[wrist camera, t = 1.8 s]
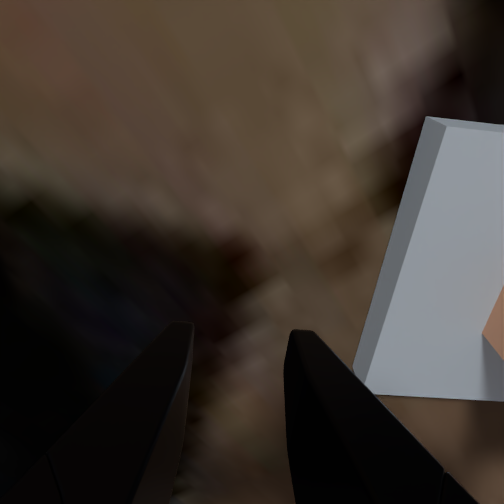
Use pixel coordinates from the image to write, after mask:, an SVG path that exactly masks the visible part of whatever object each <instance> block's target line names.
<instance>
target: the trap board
mask: <svg viewBox="0 0 504 504" xmlns="http://www.w3.org/2000/svg"><path fill="white" fill-rule="evenodd" d="M503 286H504V125H497V124H489V123H480V122H471V121H462V120H454V119H445V118H436V117H427V116H426V118H425V122H424V125H423V128H422V132H421V135H420V139H419V142H418V145H417V149H416V152H415V156H414V159H413V162H412V166H411V169H410V173H409V176H408V179H407V183H406V186H405V190H404V193H403V196H402V200H401V203H400V207H399V210H398V213H397V217H396V220H395V224H394V227H393V230H392V234H391V237H390V241H389V244H388V247H387V251H386V254H385V258H384V261H383V264H382V268H381V271H380V275H379V278H378V281H377V285H376V288H375V292H374V295H373V298H372V302H371V305H370V309H369V312H368V315H367V319H366V322H365V326H364V329H363V332H362V336H361V339H360V343H359V346H358V350H357V353H356V356H355V360H354V363H353V370H354V373H355V375H356V376H357V377H358V378H359V379H360V380H361V381H362V382H363V383H364V384H365V385H366V386H367V387H368V388H369V389H370V390H371V392H372V393H373V394H380V395H397V396H415V397H433V398H450V399H468V400H485V401H503V402H504V360H503V359H502V358H501V357H500V355H499V354H498V353H497V352H496V350H495V349H494V348H493V347H492V345H491V344H490V343H489V342H488V340H487V339H486V338H485V337H484V335H483V334H482V331H483V329H484V327H485V325H486V323H487V320H488V318H489V316H490V314H491V312H492V310H493V307H494V305H495V303H496V301H497V299H498V296H499V294H500V292H501V290H502V288H503Z"/></svg>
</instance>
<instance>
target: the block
mask: <svg viewBox="0 0 504 504" xmlns="http://www.w3.org/2000/svg"><path fill="white" fill-rule="evenodd" d="M482 334H483V335H484V337H485V338H486V339H487V340H488V342H489V343H490V344H491V345H492V347H493V348H494V349H495V350H496V352H497V353H498V354H499V355H500V357H501V358H502V359H503V360H504V286H503V288H502V290H501V292H500V294H499V296H498V299H497V301H496V303H495V305H494V307H493V310H492V312H491V314H490V316H489V318H488V320H487V323H486V325H485V327H484V329H483V331H482Z"/></svg>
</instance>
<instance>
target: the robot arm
mask: <svg viewBox="0 0 504 504" xmlns="http://www.w3.org/2000/svg"><path fill="white" fill-rule="evenodd" d="M193 339H194V324H193V323H192V322H183V321H172V322H170V323H169V324H168V325H167V326H166V328H165V329H164V330H163V331H162V332H161V333H160V334H159V335H158V336H157V337H156V338H155V339H154V340H153V341H152V342H151V343H150V344H149V345H148V346H147V347H146V348H145V349H144V350H143V351H142V353H141V354H140V355H139V356H138V357H137V358H136V359H135V360H134V361H133V362H132V363H131V364H130V365H129V366H128V367H127V368H126V369H125V370H124V371H123V372H122V373H121V374H120V375H119V376H118V377H117V379H116V380H115V381H114V382H113V383H112V384H111V385H110V386H109V387H108V388H107V389H106V390H105V391H104V392H103V393H102V394H101V395H100V396H99V397H98V398H97V399H96V400H95V401H94V402H93V403H92V405H91V406H90V407H89V408H88V409H87V410H86V411H85V412H84V413H83V414H82V415H81V416H80V417H79V418H78V419H77V420H76V421H75V422H74V423H73V424H72V425H71V426H70V427H69V428H68V429H67V431H66V432H65V433H64V434H63V435H62V436H61V437H60V438H59V439H58V440H57V441H56V442H55V443H54V444H53V445H52V446H51V447H50V448H49V449H48V450H47V452H46V455H47V456H46V455H42V456H41V457H40V458H39V459H38V460H37V461H36V462H35V463H34V465H33V466H32V467H31V468H30V469H29V470H28V471H27V472H26V473H25V474H24V475H23V476H22V477H21V478H20V479H19V480H18V481H17V482H16V483H15V484H14V485H13V486H12V487H11V488H10V489H9V490H8V491H7V492H6V493H5V494H4V495H3V496H2V497H1V498H0V504H169V502H170V498H171V494H172V490H173V485H174V481H175V477H176V473H177V468H178V464H179V460H180V455H181V450H182V445H183V438H184V431H185V422H186V413H187V404H188V394H189V385H190V376H191V367H192V355H193ZM284 396H285V417H286V438H287V451H288V458H289V466H290V472H291V478H292V484H293V490H294V496H295V502H296V504H480V503H479V502H478V501H477V500H476V499H475V498H474V497H473V496H472V495H471V494H470V493H469V492H468V491H467V490H466V489H465V488H464V487H463V486H462V485H461V484H460V483H459V482H458V481H457V480H456V479H455V478H454V477H453V476H452V475H451V474H450V473H449V472H446V473H445V468H444V467H443V466H442V465H441V463H440V462H439V461H438V460H437V459H436V458H435V457H434V456H433V455H432V454H431V453H430V452H429V451H428V450H427V449H426V448H425V447H424V446H423V445H422V444H421V443H420V442H419V441H418V439H417V438H416V437H415V436H414V435H413V434H412V433H411V432H410V431H409V430H408V429H407V428H406V427H405V426H404V425H403V424H402V423H401V422H400V421H399V420H398V419H397V418H396V417H395V415H394V414H393V413H392V412H391V411H390V410H389V409H388V408H387V407H386V406H385V405H384V404H383V403H382V402H381V401H380V400H379V399H378V398H377V397H376V396H375V395H374V394H373V393H372V392H371V390H370V389H369V388H368V387H367V386H366V385H365V384H364V383H363V382H362V381H361V380H360V379H359V378H358V377H357V376H356V375H355V374H354V373H353V372H352V371H351V370H350V369H349V368H348V366H347V365H346V364H345V363H344V362H343V361H342V360H341V359H340V358H339V357H338V356H337V355H336V354H335V353H334V352H333V351H332V350H331V349H330V348H329V347H328V346H327V345H326V344H325V343H324V341H323V340H322V339H321V338H320V337H319V336H318V335H317V334H316V333H315V332H313V331H311V330H298V329H294V330H292V331H291V333H290V336H289V341H288V346H287V351H286V356H285V361H284Z"/></svg>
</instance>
